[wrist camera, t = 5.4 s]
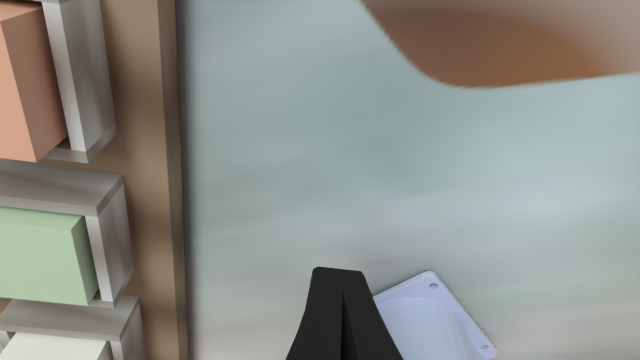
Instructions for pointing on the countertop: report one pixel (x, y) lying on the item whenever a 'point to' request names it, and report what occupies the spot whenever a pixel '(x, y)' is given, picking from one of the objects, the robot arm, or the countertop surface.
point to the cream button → (55, 348)
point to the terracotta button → (28, 84)
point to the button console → (113, 178)
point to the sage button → (46, 257)
